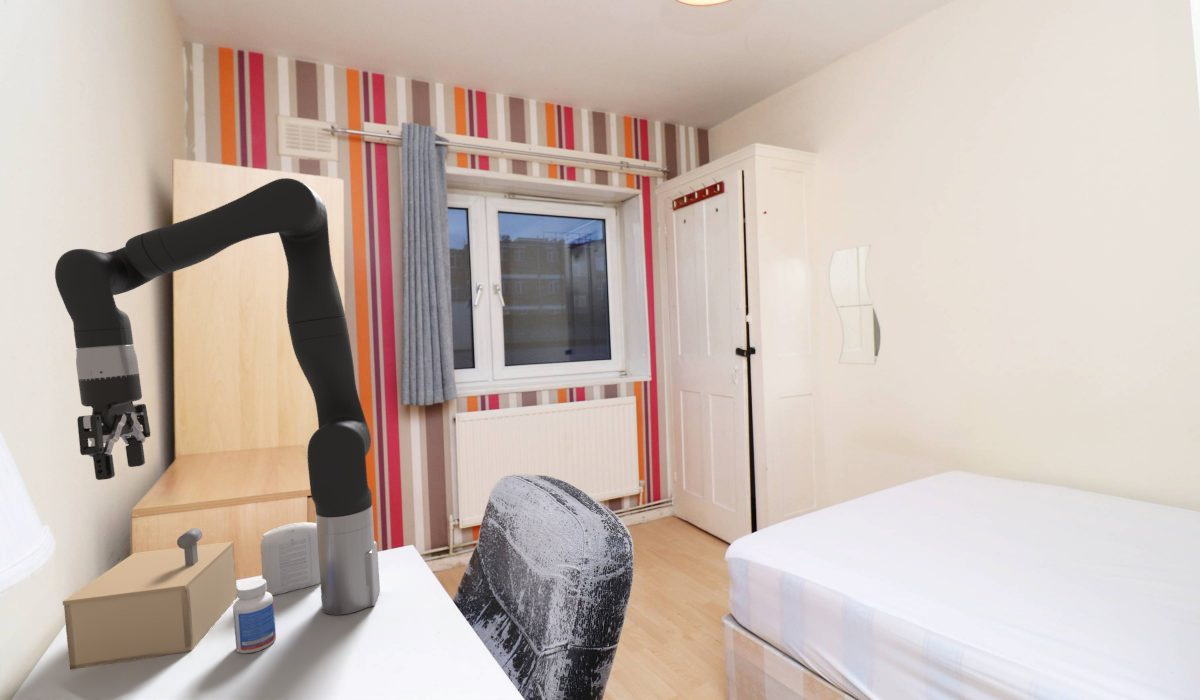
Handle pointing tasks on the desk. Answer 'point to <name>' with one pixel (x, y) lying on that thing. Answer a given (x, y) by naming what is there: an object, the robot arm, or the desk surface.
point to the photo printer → (290, 557)
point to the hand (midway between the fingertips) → (122, 472)
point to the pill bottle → (254, 617)
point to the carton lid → (154, 571)
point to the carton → (150, 619)
